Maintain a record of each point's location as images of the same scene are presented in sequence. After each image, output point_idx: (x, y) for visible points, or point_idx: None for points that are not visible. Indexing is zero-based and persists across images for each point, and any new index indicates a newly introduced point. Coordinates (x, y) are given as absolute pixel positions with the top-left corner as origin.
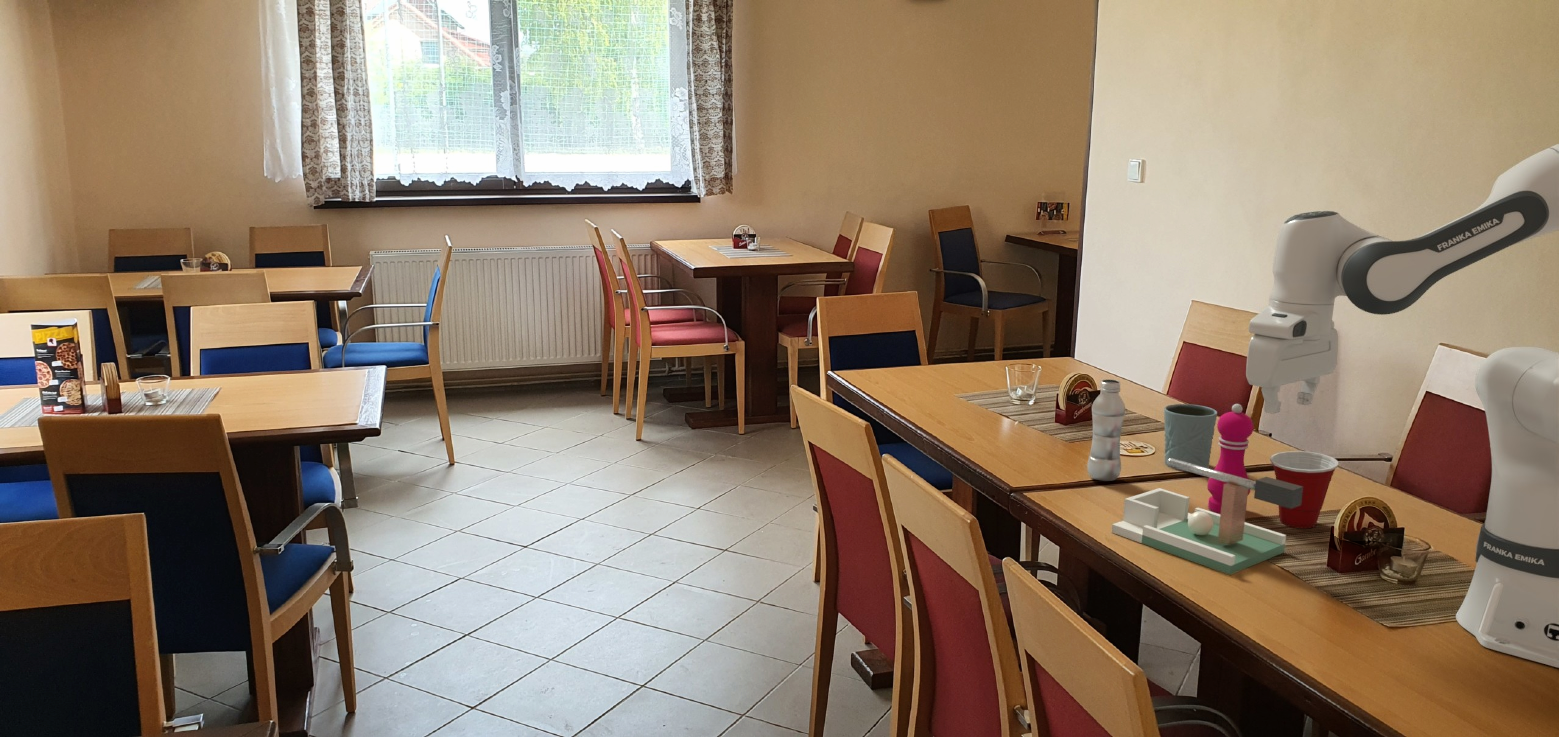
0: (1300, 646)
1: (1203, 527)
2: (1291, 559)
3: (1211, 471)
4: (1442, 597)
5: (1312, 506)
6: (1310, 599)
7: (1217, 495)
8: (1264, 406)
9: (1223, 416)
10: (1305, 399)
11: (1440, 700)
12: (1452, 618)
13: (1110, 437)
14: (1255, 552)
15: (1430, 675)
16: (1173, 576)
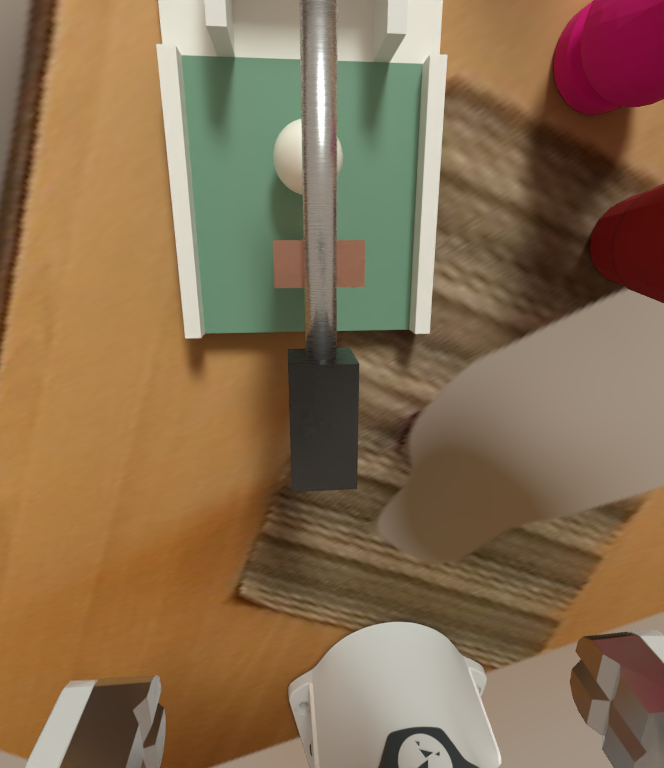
0: (31, 567)
1: (284, 184)
2: (390, 356)
3: (308, 153)
4: (430, 582)
5: (637, 292)
6: (227, 480)
7: (582, 35)
8: (50, 717)
9: None
10: (604, 720)
11: None
12: (356, 623)
13: None
14: None
15: None
16: (66, 259)
